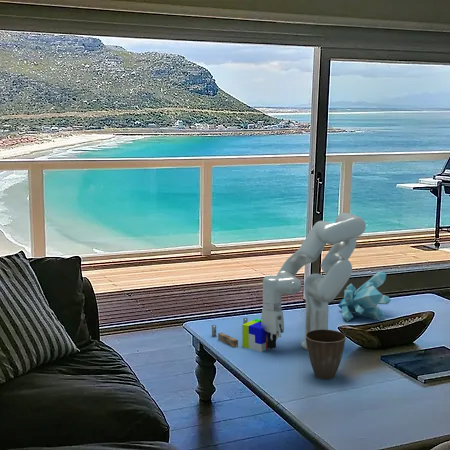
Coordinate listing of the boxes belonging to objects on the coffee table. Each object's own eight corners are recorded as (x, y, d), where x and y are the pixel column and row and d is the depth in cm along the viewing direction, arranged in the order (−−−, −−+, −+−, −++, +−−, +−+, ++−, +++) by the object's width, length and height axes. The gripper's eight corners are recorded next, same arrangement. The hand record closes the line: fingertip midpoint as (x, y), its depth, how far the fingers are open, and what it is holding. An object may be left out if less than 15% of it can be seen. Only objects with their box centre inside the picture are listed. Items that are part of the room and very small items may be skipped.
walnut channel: (270, 338, 290) (270, 331, 289) (234, 347, 279) (234, 340, 278) (254, 331, 300) (254, 324, 299) (218, 339, 288) (218, 333, 288)
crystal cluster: (391, 327, 304) (390, 285, 299) (335, 326, 310) (334, 284, 306) (391, 310, 325) (390, 270, 320) (338, 309, 331) (337, 270, 326)
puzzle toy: (261, 352, 273) (261, 329, 272) (242, 346, 280) (242, 324, 278) (275, 345, 281) (275, 323, 279) (256, 340, 287) (256, 318, 286)
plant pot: (297, 372, 252) (298, 332, 249) (330, 365, 258) (331, 327, 255) (318, 386, 238) (318, 344, 236) (352, 379, 244) (353, 338, 241)
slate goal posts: (248, 328, 303) (248, 318, 302) (213, 337, 292) (213, 326, 291) (245, 327, 304) (245, 317, 304) (211, 336, 293) (210, 325, 292)
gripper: (290, 308, 266) (290, 351, 269) (267, 300, 278) (267, 341, 281) (276, 311, 262) (276, 355, 265) (253, 303, 274) (253, 344, 277)
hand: (271, 347), depth 273 cm, fingers closed
